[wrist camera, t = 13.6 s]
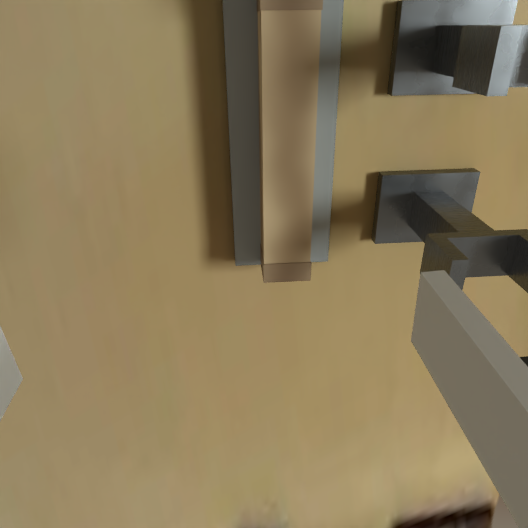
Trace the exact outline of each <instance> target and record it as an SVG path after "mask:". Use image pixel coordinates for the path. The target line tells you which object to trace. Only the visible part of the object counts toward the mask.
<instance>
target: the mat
mask: <svg viewBox="0 0 528 528" xmlns="http://www.w3.org/2000/svg"><path fill="white" fill-rule="evenodd" d="M343 4H344V0H323V10H321V31H320V54H319V77H318V100H317V123H316V145H315V168H314V191H313V214H312V236H311V259H310V261H311V262H323V261H328V250H329V234H330V218H331V201H332V185H333V168H334V152H335V135H336V119H337V102H338V86H339V69H340V53H341V37H342V20H343ZM223 18H224V39H225V59H226V80H227V100H228V120H229V141H230V161H231V182H232V202H233V223H234V243H235V263H236V266H238V265H260V264H261V261H260V244H261V222H260V154H259V86H258V17H257V1H256V0H223Z"/></svg>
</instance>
